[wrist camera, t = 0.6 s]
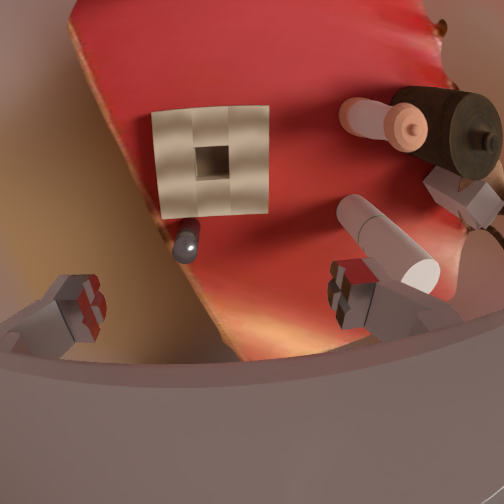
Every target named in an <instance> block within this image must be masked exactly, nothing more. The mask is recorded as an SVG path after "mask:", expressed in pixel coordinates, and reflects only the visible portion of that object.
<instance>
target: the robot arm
mask: <svg viewBox="0 0 504 504" xmlns="http://www.w3.org/2000/svg"><path fill="white" fill-rule="evenodd" d="M330 273H331V275H332V277H333V278H332V279H331V280H330V281H329V283H328V289H327V295H328V302H329V305H330V307H331V309H333V310H334V311H336V319H337V321H338V323H339V325H340V327H341V329H342V330H344V329H352V328H360V327H364V328H365V329H366V330H368V331H369V332H370V333H372V334H373V335H375V336H376V337H377V338H379V339H380V340H381V341H383V343H378V344H372V345H368V346H362V347H356V348H351V349H345V350H339V351H333V352H326V353H319V354H312V355H304V356H297V357H288V358H279V359H269V360H258V361H246V362H232V363H215V364H214V363H213V364H183V365H182V364H179V365H150V364H149V365H148V364H117V363H99V362H86V361H74V360H64V359H59V358H61V357H62V356H63V355H64V353H66V352H67V351H68V350H69V349H70V348H71V347H72V346H73V345H74V344H75V342H91V343H93V342H94V343H95V341H96V339H97V336H98V334H99V331H100V328H99V324H100V323H102V322H103V321H104V319H105V316H106V309H107V308H106V301H105V298H104V295H103V294H102V293H101V292H99V287H100V283H99V280H98V277H97V276H96V275H94V274H83V275H60V276H58V277H57V278H56V280H55V281H54V283H53V284H52V285H51V287H50V288H49V289H48V291H47V292H46V294H45V295H44V296H43V298H42V299H41V300H37V301H35V302H34V303H32V304H31V305H29V306H27V307H26V308H24V309H23V310H21V311H19V312H18V313H16V314H14V315H13V316H11V317H10V318H8V319H7V320H5V321H4V322H2V323H0V504H504V309H502V310H499V311H496V312H493V313H491V314H487V315H485V316H481V317H479V318H475V319H472V320H469V321H465V320H464V319H463V318H462V317H461V316H460V315H459V313H458V312H457V311H456V310H455V309H454V308H453V306H452V305H450V304H449V303H447V302H444V301H442V300H440V299H438V298H436V297H433V296H431V295H429V294H427V293H425V292H422V291H420V290H418V289H416V288H414V287H411V286H409V285H407V284H405V283H402V282H400V281H398V280H392V278H391V277H390V276H389V275H388V274H387V273H386V271H385V270H384V269H383V268H382V267H381V266H380V264H379V263H378V262H377V261H376V260H375V259H374V258H372V257H368V258H359V259H349V260H339V261H332V264H331V267H330Z"/></svg>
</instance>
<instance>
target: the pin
mask: <svg viewBox="0 0 504 504" xmlns="http://www.w3.org/2000/svg"><path fill="white" fill-rule="evenodd" d="M199 235H200V223H199V221H198V220H197V219H195V218H193V217H188V218H184V219H183V220H182V221H181V222H180V225H179V229H178V232H177V236H176V239H175V243H174V246H173V250H172V254H173V257H174V259H175V260H176V261H178V262H179V263H182V264H188V263H191V262H193V261H194V260H195V259H196V257H197V250H198V242H199Z"/></svg>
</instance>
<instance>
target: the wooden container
mask: <svg viewBox="0 0 504 504" xmlns="http://www.w3.org/2000/svg"><path fill="white" fill-rule="evenodd" d="M398 103H409V104H412V105H414V106H415V107H417V108H418V109H419V110H420V111H421V112H422V113H423V115H424V117H425V119H426V122H427V127H428V132H427V137H426V140H425V142H424V143H423V145H422V146H421V147H420V148H418V149H417V150H415V151H412V152H405V153H407V154H410V155H412V156H414V157H417V158H419V159H421V160H423V161H426V162H428V163H431V164H433V165H436V166H439V167H441V168H443V169H446V170H448V171H450V172H453V173H455V174H456V175H458V176H460V177H462V178H465V179H467V180H471V181H479V180H482V179H483V178H485V177H487V176H488V175H489V174H490V173H491V172H492V170H493V169H494V168H495V166H496V164H497V162H498V160H499V156H500V153H501V148H502V141H503V139H502V138H503V134H502V125H501V121H500V118H499V115H498V112H497V111H496V109H495V107H494V105H493V104H492V103H491V102H490V100H488V99H487V98H486V97H484V96H482V95H480V94H476V93H471V92H464V91H458V90H451V89H445V88H437V87H422V86H410V87H406V88H404V89H402V90H400V91H399V92H398V93H397V94H396V95H395V96H394V98H393V100H392V102H391V104H390V106H395V105H396V104H398Z"/></svg>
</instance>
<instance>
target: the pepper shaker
mask: <svg viewBox="0 0 504 504" xmlns="http://www.w3.org/2000/svg"><path fill="white" fill-rule="evenodd" d="M339 120H340V124H341V125H342V127H343V128H344V129H345V130H346V131H347V132H348V133H351V134H353V135H356V136H359V137H364V138H366V137H367V138H370V139H380V140H386V141H388V142H389V143H390V144H391V145H392V146H393V147H394V148H395V149H396V150H398V151H400V152H412V151H415V150H417V149H418V148H420V147H421V146H422V145H423V143H424V142H425V140H426V137H427V132H428V127H427V122H426V119H425V117H424V115H423V113H422V112H421V111H420V110H419V109H418V108H417V107H415V106H414V105H412V104H409V103H398V104H396V105H395V106H388V105H386V104H384V103H381V102H379V101H374V100H370V99H367V98H360V97H354V98H349V99H347V100H346V101H344V103H343V104H342V105H341V107H340V110H339Z"/></svg>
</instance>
